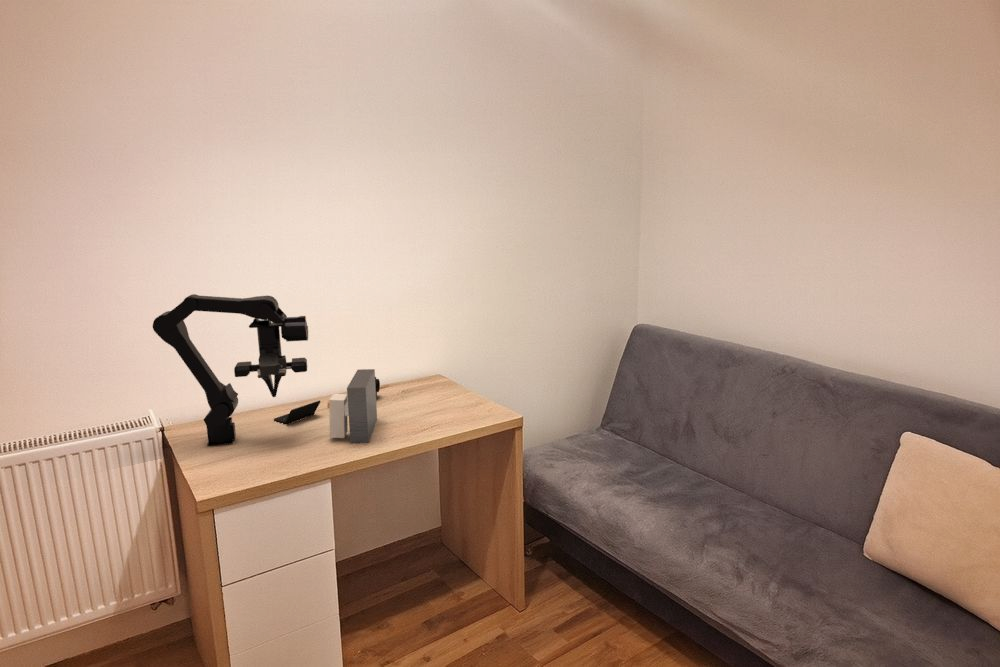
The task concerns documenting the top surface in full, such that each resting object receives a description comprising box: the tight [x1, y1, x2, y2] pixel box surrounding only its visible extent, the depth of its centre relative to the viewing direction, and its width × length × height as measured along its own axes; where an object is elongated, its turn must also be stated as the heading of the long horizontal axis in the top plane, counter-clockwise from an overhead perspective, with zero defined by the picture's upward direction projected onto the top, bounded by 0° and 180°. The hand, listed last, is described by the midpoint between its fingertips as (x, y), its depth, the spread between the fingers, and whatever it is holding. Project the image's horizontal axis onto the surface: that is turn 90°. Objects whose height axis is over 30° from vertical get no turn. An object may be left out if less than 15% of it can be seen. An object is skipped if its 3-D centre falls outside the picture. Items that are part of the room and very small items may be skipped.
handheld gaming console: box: [273, 400, 322, 425], centre depth 197 cm, size 12×7×10 cm
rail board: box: [344, 368, 378, 444], centre depth 186 cm, size 6×18×16 cm, turn 3°
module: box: [327, 393, 349, 439], centre depth 181 cm, size 5×5×11 cm
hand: (274, 396), depth 181 cm, fingers closed
